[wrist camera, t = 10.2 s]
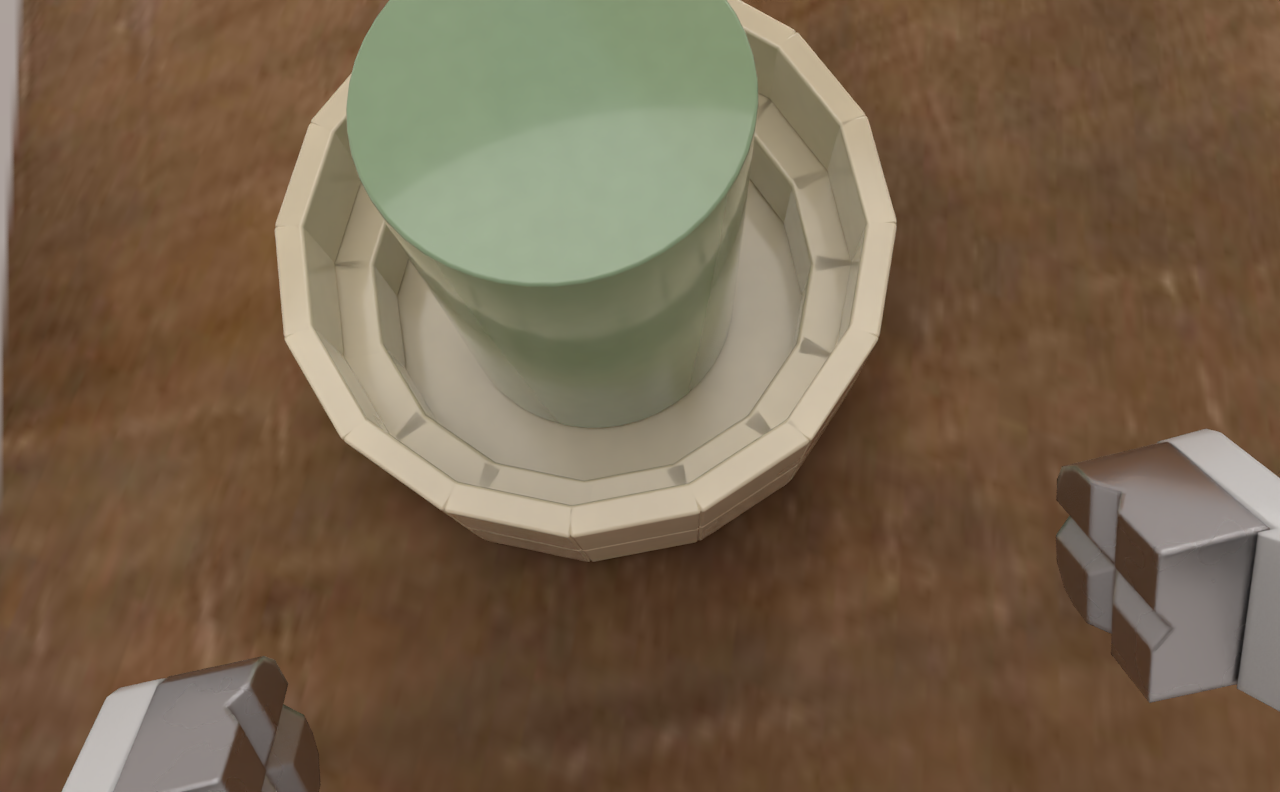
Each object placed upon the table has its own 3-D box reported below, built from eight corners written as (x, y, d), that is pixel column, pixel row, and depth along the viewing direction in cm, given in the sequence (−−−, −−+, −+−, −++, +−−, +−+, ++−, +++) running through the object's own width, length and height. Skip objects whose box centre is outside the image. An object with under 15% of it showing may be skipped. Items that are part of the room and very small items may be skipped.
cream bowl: (791, 46, 26) (812, -81, 22) (912, 505, 22) (966, 463, 18) (327, 133, 26) (255, 22, 21) (378, 606, 22) (304, 588, 18)
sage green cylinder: (704, 153, 24) (712, -112, 16) (760, 399, 23) (801, 241, 14) (447, 201, 24) (326, -40, 16) (482, 452, 23) (367, 322, 14)
